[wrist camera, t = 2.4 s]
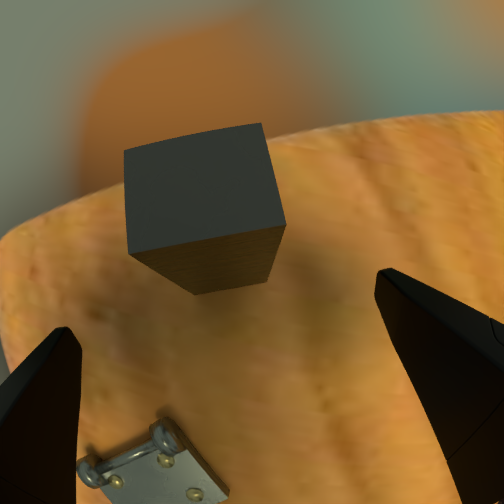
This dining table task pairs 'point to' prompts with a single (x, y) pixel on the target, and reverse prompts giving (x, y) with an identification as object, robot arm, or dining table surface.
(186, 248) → the dark grey block
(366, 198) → the dining table surface
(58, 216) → the dining table surface
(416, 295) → the robot arm
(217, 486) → the fixed hinge leaf
